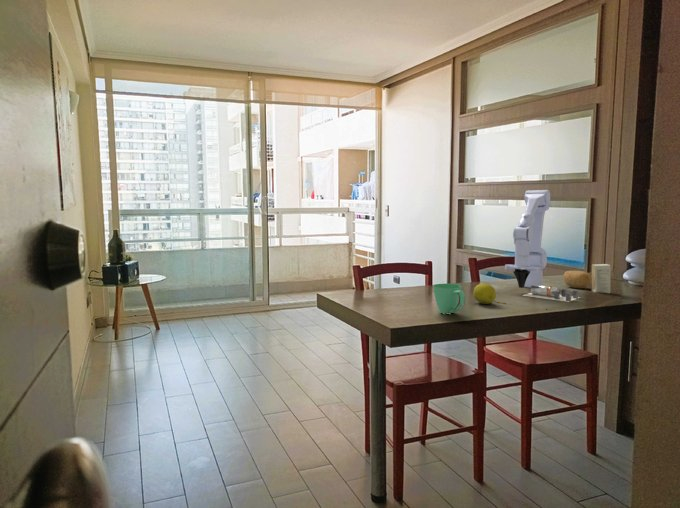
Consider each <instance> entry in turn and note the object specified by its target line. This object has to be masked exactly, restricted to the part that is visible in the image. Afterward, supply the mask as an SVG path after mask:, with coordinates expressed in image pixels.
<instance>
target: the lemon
mask: <svg viewBox="0 0 680 508" xmlns="http://www.w3.org/2000/svg"><path fill="white" fill-rule="evenodd" d="M496 296H497V291H496V290H495V288H494V287H493V286H492V285H491V284H490V283H489V284H488V283H483V282H482V283H478V284H477V285H476V286H475V287H474V288H473V297H474V299H475V300H476V301H477V302H478V303H481V304H482V305H490V304H492V303H493V302H494V301H495V299H496V298H497V297H496Z"/></svg>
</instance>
